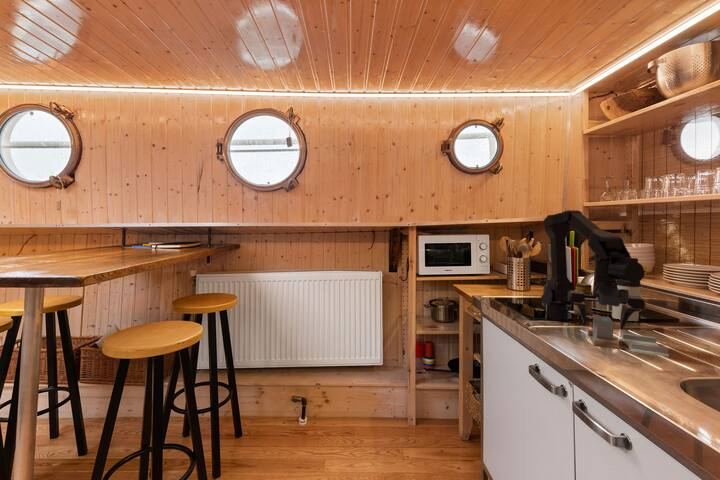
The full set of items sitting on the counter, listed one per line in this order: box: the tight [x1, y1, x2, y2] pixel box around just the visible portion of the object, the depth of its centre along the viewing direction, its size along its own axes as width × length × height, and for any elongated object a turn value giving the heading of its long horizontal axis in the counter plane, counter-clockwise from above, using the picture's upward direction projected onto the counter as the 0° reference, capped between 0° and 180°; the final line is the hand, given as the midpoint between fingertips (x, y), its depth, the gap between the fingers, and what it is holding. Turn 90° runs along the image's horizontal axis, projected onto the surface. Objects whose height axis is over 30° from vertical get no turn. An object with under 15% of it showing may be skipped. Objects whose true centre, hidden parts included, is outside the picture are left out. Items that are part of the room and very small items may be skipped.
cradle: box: [620, 332, 670, 357], centre depth 98 cm, size 8×12×2 cm, turn 154°
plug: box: [592, 315, 615, 341], centre depth 103 cm, size 4×6×8 cm, turn 154°
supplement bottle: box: [541, 278, 551, 308], centre depth 145 cm, size 7×7×12 cm
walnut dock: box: [586, 328, 620, 350], centre depth 103 cm, size 6×12×2 cm, turn 154°
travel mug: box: [611, 279, 642, 322], centre depth 127 cm, size 8×8×18 cm
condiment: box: [568, 282, 600, 318], centre depth 134 cm, size 7×8×12 cm
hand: (602, 326), depth 103 cm, fingers open, 9 cm apart
